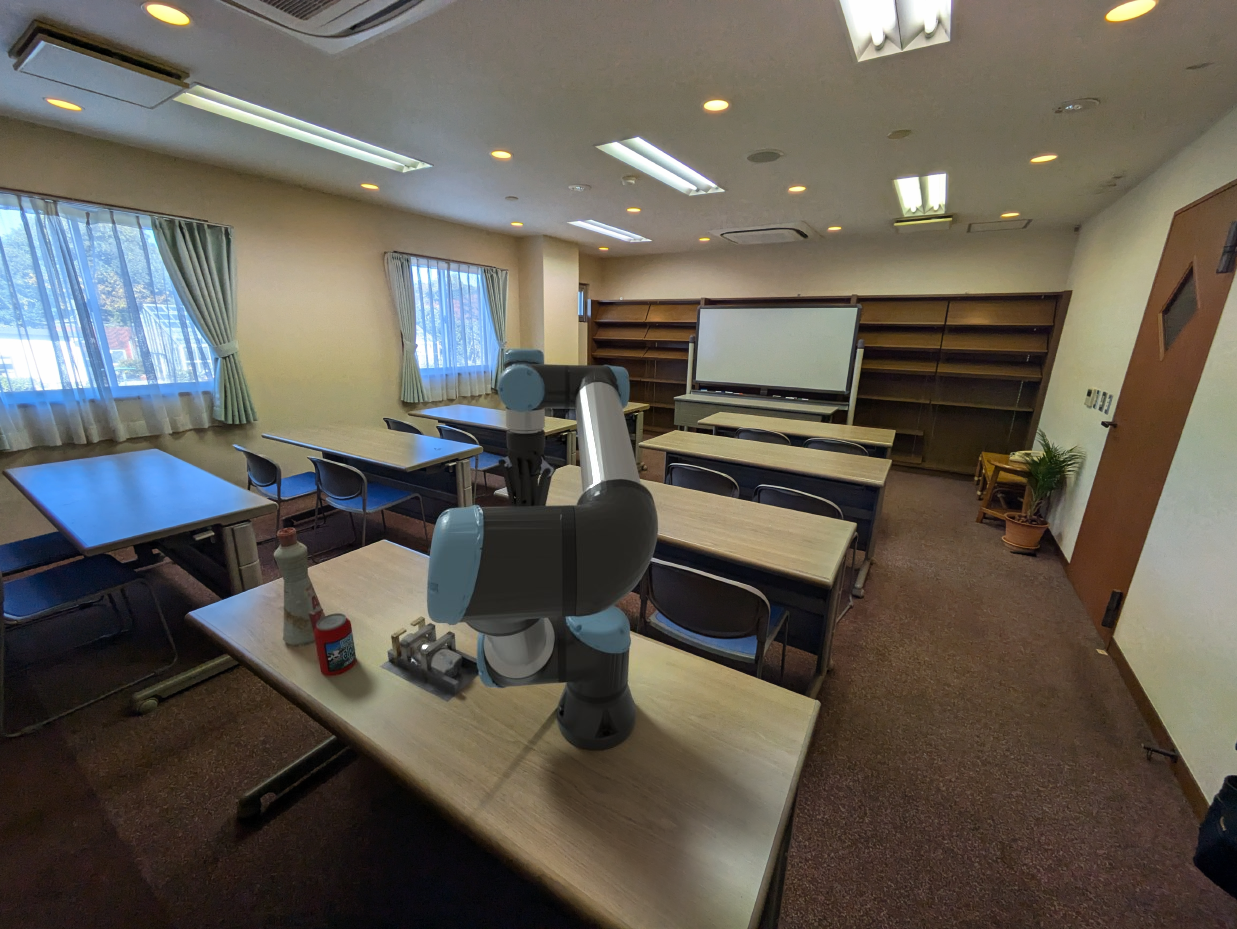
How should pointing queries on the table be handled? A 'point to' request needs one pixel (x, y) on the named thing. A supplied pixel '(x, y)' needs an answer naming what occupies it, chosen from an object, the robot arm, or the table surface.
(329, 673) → the beverage can
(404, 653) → the grey slotted rack
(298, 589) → the bottle
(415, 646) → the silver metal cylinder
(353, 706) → the table surface
